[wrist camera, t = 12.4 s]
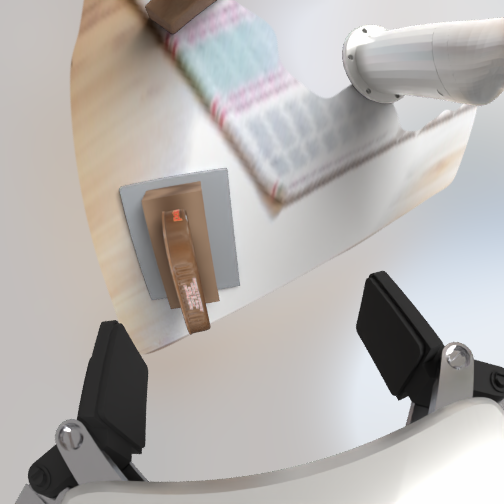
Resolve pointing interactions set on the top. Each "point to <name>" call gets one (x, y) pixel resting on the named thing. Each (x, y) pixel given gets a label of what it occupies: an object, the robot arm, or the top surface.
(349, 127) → the top surface
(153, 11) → the wooden block
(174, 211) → the tin
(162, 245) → the base block
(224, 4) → the top surface
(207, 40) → the top surface
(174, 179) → the plate
